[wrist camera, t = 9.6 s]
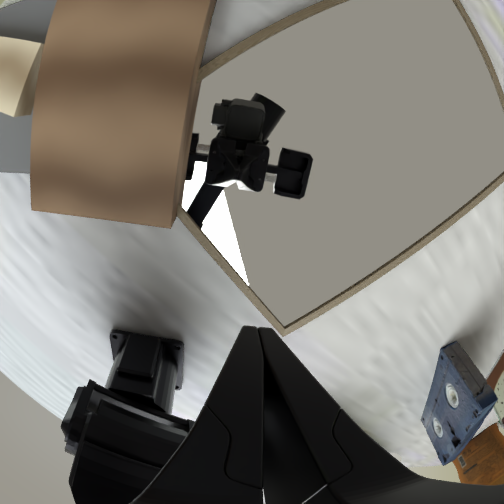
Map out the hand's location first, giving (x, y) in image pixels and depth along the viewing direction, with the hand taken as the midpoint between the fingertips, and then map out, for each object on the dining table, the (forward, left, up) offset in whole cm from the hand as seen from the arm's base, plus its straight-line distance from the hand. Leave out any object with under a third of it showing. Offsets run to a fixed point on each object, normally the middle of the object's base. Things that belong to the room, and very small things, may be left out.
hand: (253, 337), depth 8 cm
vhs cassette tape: (-19, -30, -12) cm, 38 cm away
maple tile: (+9, +19, -11) cm, 24 cm away
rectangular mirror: (+7, -8, -13) cm, 17 cm away
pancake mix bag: (-49, -71, -12) cm, 87 cm away
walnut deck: (+7, +9, -12) cm, 17 cm away
